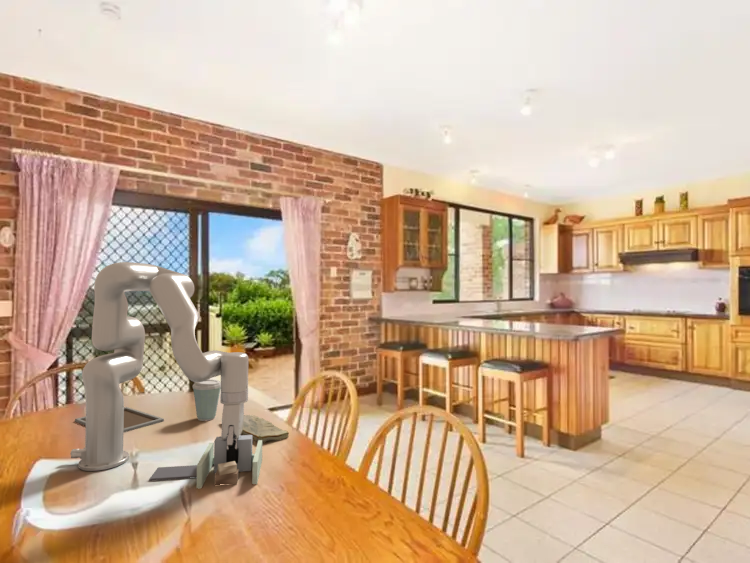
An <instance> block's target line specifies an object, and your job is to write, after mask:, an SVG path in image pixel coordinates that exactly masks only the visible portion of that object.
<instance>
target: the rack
mask: <svg viewBox="0 0 750 563" xmlns="http://www.w3.org/2000/svg"><path fill="white" fill-rule="evenodd" d="M262 462H263V443H262V440H258V441H257V444H256V448H255V450H254V453H252V475H251V476H252V481H251V483H252V484H256V485H258V481H259V477H260V472H261V467H262ZM213 464H214V442H209V443H208V445H207V446H206V448H205V450H204V452H203V453H202V456H201V457H200V460H198V463H197V464H196V465H197V478H196V489H197V488H198V489H203V488H202V487H203V486H204V484H205V482H206V480H207V478H208V476H209V473H210V470H211V469H212V467H213V466H214V465H213ZM207 475H208V476H207ZM206 477H207V478H206Z"/></svg>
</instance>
